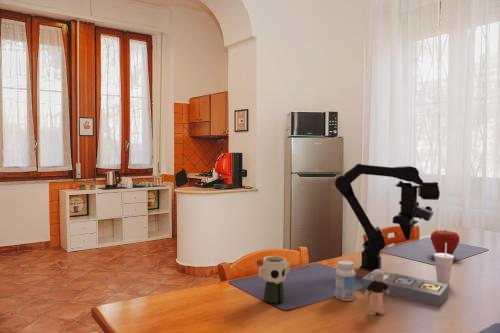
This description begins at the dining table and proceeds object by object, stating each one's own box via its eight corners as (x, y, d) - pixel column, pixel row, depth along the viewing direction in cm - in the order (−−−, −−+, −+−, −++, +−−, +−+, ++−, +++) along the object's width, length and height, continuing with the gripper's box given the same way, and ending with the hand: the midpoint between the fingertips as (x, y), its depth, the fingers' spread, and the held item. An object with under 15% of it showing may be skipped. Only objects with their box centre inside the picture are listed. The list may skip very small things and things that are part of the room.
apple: (459, 255, 174) (460, 228, 173) (457, 261, 165) (458, 232, 164) (432, 251, 180) (433, 225, 179) (428, 257, 171) (429, 229, 170)
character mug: (264, 308, 115) (264, 264, 114) (252, 299, 121) (253, 258, 121) (295, 301, 120) (296, 259, 119) (282, 293, 126) (283, 253, 126)
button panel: (361, 288, 132) (361, 278, 132) (374, 279, 141) (374, 269, 141) (439, 306, 117) (440, 295, 117) (448, 295, 127) (448, 284, 126)
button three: (419, 294, 124) (420, 286, 124) (424, 290, 128) (424, 282, 128) (437, 298, 121) (437, 290, 121) (440, 294, 125) (441, 285, 125)
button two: (393, 289, 129) (394, 280, 129) (398, 284, 133) (398, 276, 132) (409, 292, 126) (410, 284, 125) (414, 288, 130) (414, 280, 129)
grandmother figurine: (371, 318, 109) (372, 272, 108) (361, 312, 113) (363, 268, 112) (392, 313, 112) (393, 269, 112) (383, 308, 116) (384, 265, 115)
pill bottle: (355, 295, 126) (356, 260, 125) (354, 302, 120) (355, 266, 119) (336, 293, 127) (337, 258, 127) (334, 300, 122) (334, 264, 121)
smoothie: (455, 286, 135) (457, 245, 134) (435, 284, 136) (436, 244, 135) (450, 280, 141) (451, 241, 140) (430, 278, 142) (432, 240, 142)
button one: (370, 283, 134) (370, 275, 133) (375, 279, 138) (375, 272, 137) (384, 287, 130) (384, 279, 130) (389, 283, 134) (389, 275, 134)
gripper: (424, 203, 138) (423, 247, 139) (437, 198, 153) (435, 238, 154) (392, 200, 145) (391, 242, 146) (407, 196, 160) (406, 234, 161)
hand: (407, 239), depth 151 cm, fingers closed
